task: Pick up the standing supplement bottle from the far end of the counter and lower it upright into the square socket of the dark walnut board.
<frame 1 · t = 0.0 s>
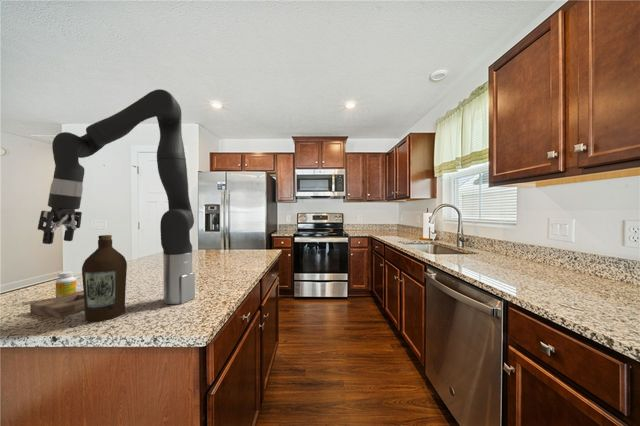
hand: (58, 242, 82), 22 cm above the countertop, tool pointing down, fingers open, 8 cm apart
olive oil: (105, 316, 77), on the countertop
socket board: (72, 307, 84), on the countertop
supplement bottle: (66, 298, 93), on the countertop
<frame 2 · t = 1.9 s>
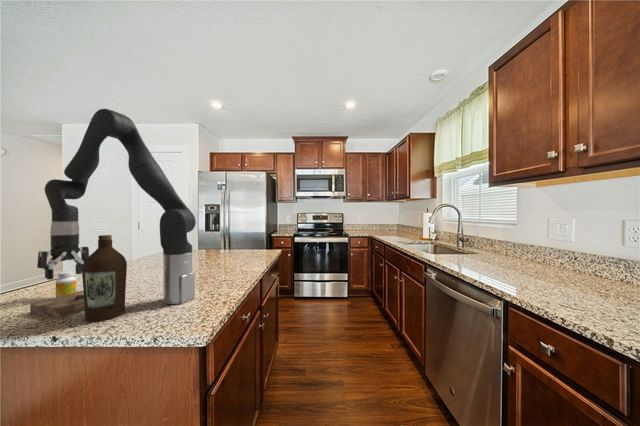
hand: (65, 276, 93), 8 cm above the countertop, tool pointing down, fingers open, 8 cm apart
nothing on the countertop moved.
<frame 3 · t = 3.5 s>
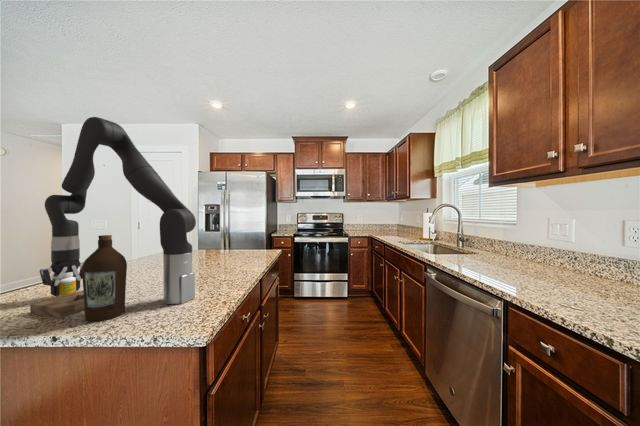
hand: (66, 292, 94), 2 cm above the countertop, tool pointing down, fingers closed on supplement bottle, 5 cm apart
supplement bottle: (66, 298, 93), on the countertop, touching gripper
everything else where it was.
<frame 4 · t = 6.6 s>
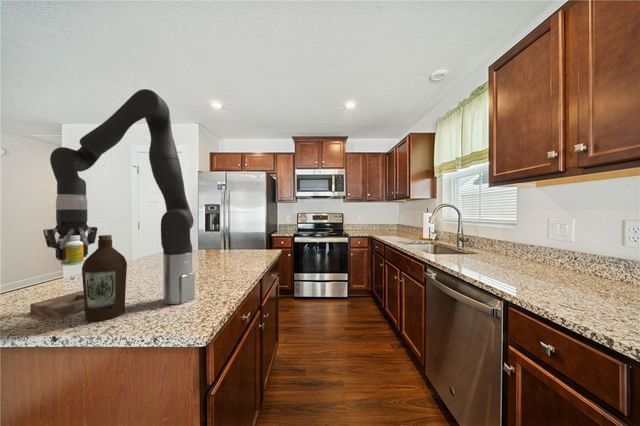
hand: (72, 258, 84), 17 cm above the countertop, tool pointing down, fingers closed on supplement bottle, 5 cm apart
supplement bottle: (72, 264, 84), point 15 cm above the countertop, touching gripper
everything else where it was.
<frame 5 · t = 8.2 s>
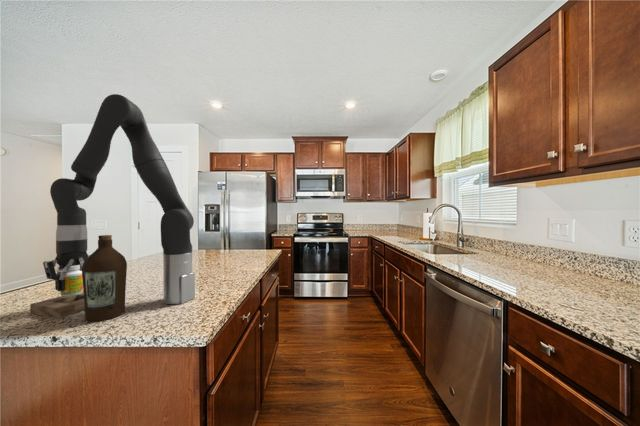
hand: (72, 288, 84), 7 cm above the countertop, tool pointing down, fingers closed on supplement bottle, 5 cm apart
supplement bottle: (72, 294, 84), point 4 cm above the countertop, touching gripper
everything else where it was.
when the fingers open (4 cm above the countertop, at t = 9.6 s): supplement bottle drops 2 cm, resting in socket board.
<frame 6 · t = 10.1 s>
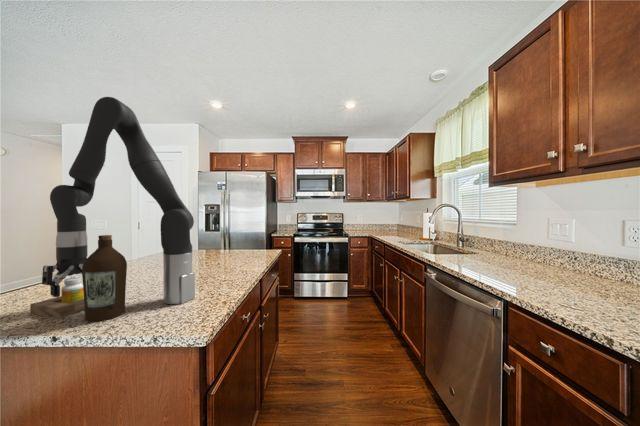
hand: (72, 292, 84), 5 cm above the countertop, tool pointing down, fingers open, 8 cm apart
supplement bottle: (73, 308, 84), resting in socket board
everything else where it was.
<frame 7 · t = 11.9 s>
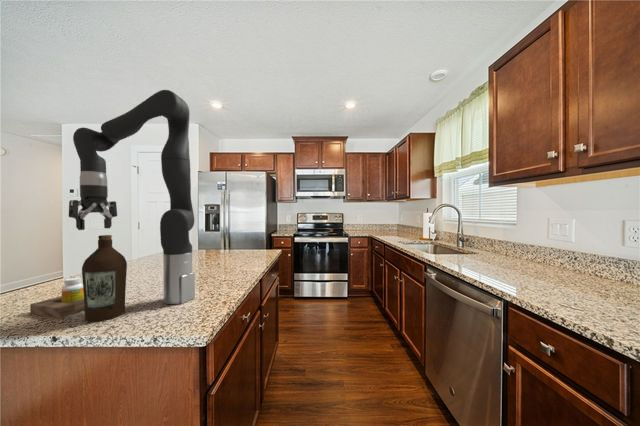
hand: (95, 229, 91), 26 cm above the countertop, tool pointing down, fingers open, 8 cm apart
nothing on the countertop moved.
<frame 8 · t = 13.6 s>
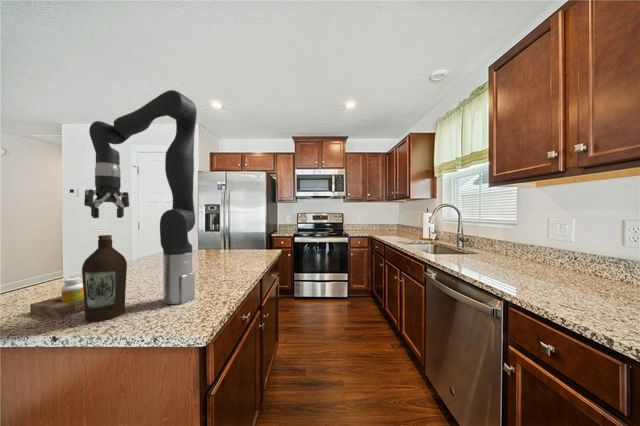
hand: (108, 217, 96), 30 cm above the countertop, tool pointing down, fingers open, 8 cm apart
nothing on the countertop moved.
at the end: supplement bottle 0.1 cm off-centre on the socket board, point 0.0 cm above the socket board's base; supplement bottle tilted 0°; the gripper is holding nothing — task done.
